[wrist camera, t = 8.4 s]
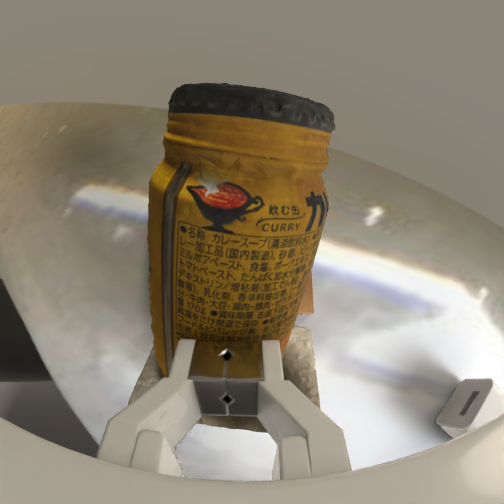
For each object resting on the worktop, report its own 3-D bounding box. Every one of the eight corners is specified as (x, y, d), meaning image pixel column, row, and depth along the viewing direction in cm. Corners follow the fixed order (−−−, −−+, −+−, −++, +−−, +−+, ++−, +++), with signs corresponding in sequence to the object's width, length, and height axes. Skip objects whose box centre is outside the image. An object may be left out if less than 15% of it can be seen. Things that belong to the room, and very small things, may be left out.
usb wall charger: (461, 378, 15) (496, 378, 11) (493, 418, 13) (524, 420, 10) (433, 422, 14) (467, 431, 10) (469, 457, 12) (499, 465, 9)
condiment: (172, 308, 16) (185, 92, 11) (310, 331, 17) (371, 125, 11) (128, 406, 10) (92, 76, 4) (321, 438, 10) (468, 145, 5)
